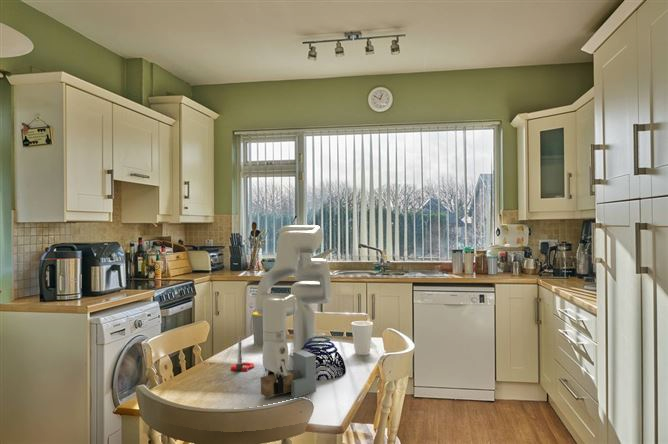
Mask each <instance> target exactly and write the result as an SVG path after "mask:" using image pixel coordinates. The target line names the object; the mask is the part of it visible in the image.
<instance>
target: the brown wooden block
mask: <svg viewBox="0 0 668 444" xmlns="http://www.w3.org/2000/svg"><path fill="white" fill-rule="evenodd" d="M287 374H288V375H287V376H286V377H285V379H284V381H283V393H282V394H286V393H291V380H295V379H299V372H298V371H296V370H294V369H293V368H292V369H289V371H287ZM279 375H281V374H278V377H279ZM274 382H275V375H274V374H272V375H268V376H266V375H263V376H260V395H261V396H263V397H265V398H271V397H277V396H279V395H280V394H278V395H274ZM282 394H281V395H282Z"/></svg>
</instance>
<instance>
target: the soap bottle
mask: <svg viewBox="0 0 668 444" xmlns="http://www.w3.org/2000/svg"><path fill="white" fill-rule="evenodd" d="M251 316H252V317H251V318H252V329H253V330H252V331H253V332H252V333H253V334H252V335H253V344H254V346H255V347H260V348H261V347H262V348H263V342H264V341H263V315H260V314H258V313H257V311H256V310H255V311H254V312H252V314H251Z"/></svg>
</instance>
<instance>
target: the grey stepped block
mask: <svg viewBox="0 0 668 444" xmlns="http://www.w3.org/2000/svg"><path fill="white" fill-rule="evenodd" d="M316 357H317V356H316V355H315V354H312V353H309V352H307V351H304V350H300V351H295V352H293V357H292V369H294V370H296V371H298V372H299V379H295V380H291V391H290V396H291V397H292V398H295V399H296V398H298V397H302V396H305V395H306V396H307V395H308V394H309V393H312V392H315V391H317V381H316V379H317V374H316V372H317V369H316V366H317V365H316V362H317V361H316Z"/></svg>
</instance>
